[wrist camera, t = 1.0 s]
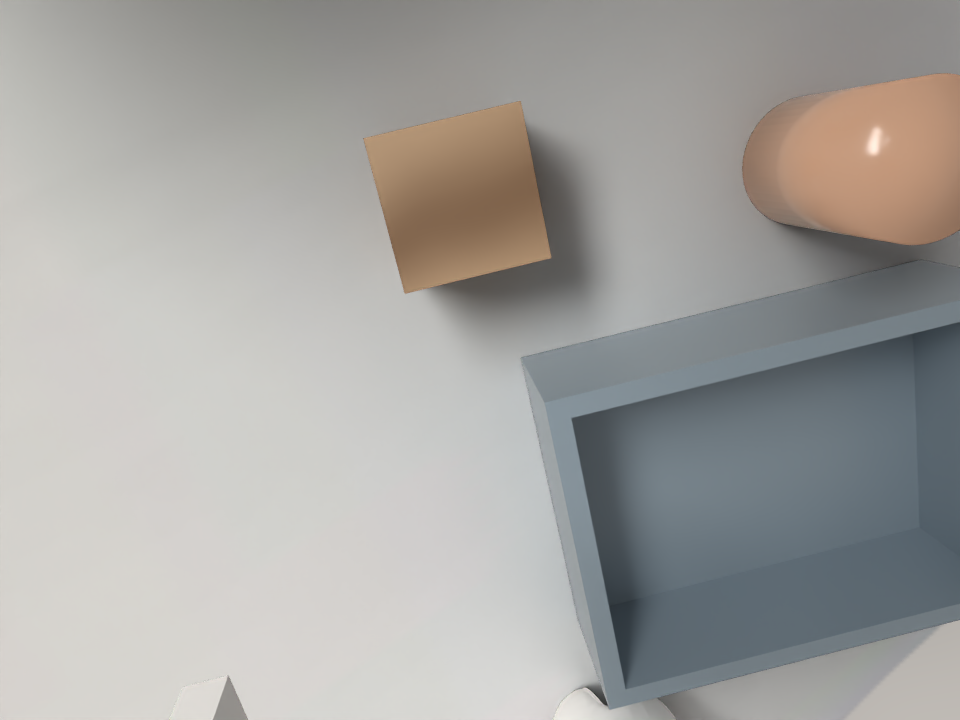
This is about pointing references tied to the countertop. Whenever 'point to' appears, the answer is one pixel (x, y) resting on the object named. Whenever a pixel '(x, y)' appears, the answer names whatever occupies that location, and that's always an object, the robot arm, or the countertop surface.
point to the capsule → (862, 161)
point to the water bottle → (587, 716)
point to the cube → (459, 196)
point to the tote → (758, 479)
